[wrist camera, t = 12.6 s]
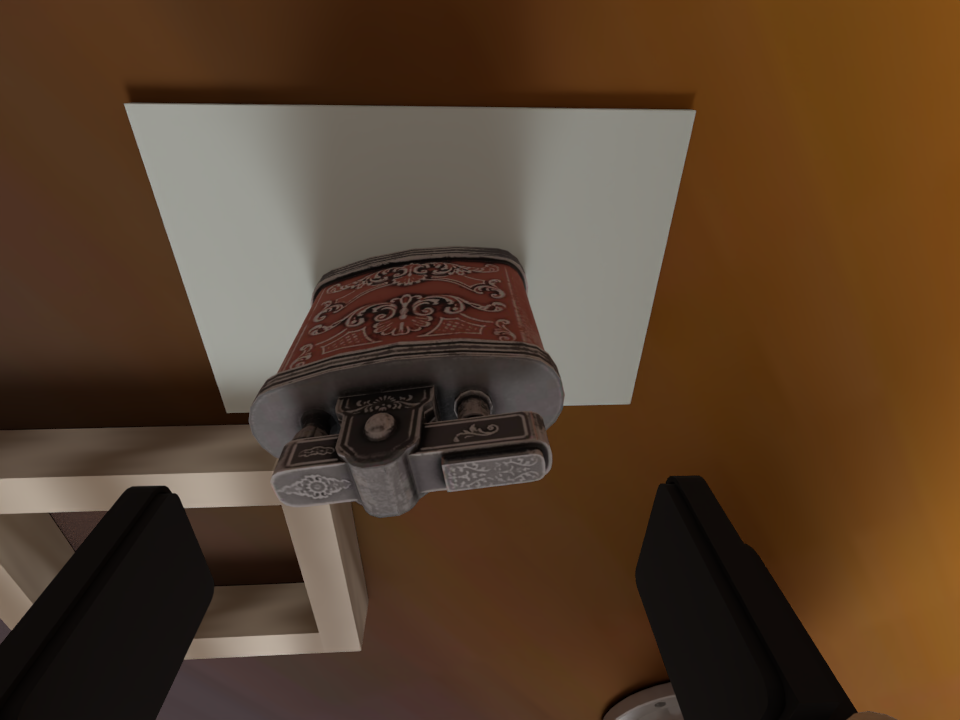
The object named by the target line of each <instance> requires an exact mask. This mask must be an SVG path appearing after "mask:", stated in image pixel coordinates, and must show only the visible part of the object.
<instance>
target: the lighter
mask: <svg viewBox="0 0 960 720" xmlns="http://www.w3.org/2000/svg"><path fill="white" fill-rule="evenodd" d="M527 295H528V283H527V279H526V275H525V272H524V269H523V266H522V265H521V263H520V262H519V260H518V259H517V257H516V256H514V255H513V254H512V253H510V252H509V251H507V250H503V249H499V248H484V247H466V246H448V247H431V248H415V249H408V250H403V251H398V252H393V253H388V254H383V255H378V256H373V257H369V258H366V259H363V260H360V261H357V262H354V263H351V264H348V265H345V266H342V267H339V268H336V269H333V270H331V271H329V272H327V273H326V274H324V275H323V276H322V278H321V279H320V281H319V282H318V284H317V286H316V287H315V289H314V291H313V293H312V298H311V303H310V304H311V309H310V310H309V312H308V314H307V316H306V318H305V320H304V322H303V324H302V326H301V328H300V330H299V332H298V334H297V336H296V337H295V339H294V341H293V343H292V345H291V347H290V349H289V351H288V353H287V355H286V357H285V359H284V361H283V363H282V364H281V366H280V368H279V370H278V372H277V374H275V375H273V376H272V377H270V378H268V379H267V380H266V382H265V383H264V384H263V386H262V387H261V389H260V390H259V392H258V394H257V396H256V398H255V400H254V401H253V403H252V405H251V407H250V413H249V420H248V421H249V424H250V427H251V431H252V434H253V436H254V437H255V438H256V440H257V441H258V443H259V444H260V445H261V447H262V448H264V449H265V450H266V451H267V452H269V453H270V454H271V455H273V456H274V457H276V458H278V459H279V460H278V463H277V465H276V468H275V470H274V472H273V475H272V478H271V481H270V483H271V486H272V489H273V491H274V493H275V495H276V497H277V498H278V499H279V501H280V502H282V503H283V504H285V505H287V506H291V507H310V506H318V505H326V504H334V503H343V502H351V501H355V502H357V503H358V504H360V505H363V507H364V509H365V511H366V512H367V513H368V514H369V515H371V516H375V517H378V518H382V517H391V516H399V515H401V514H403V513H405V512H407V511H409V510H411V509H412V508H413V507H414V506H415V505H416V503H417V502H418V500H419V499H420V498H421V497H423V496H425V495H426V494H427V493H428V492H432V491H440V490H447V492H452V491H460V490H468V489H477V488H485V487H493V486H501V485H509V484H517V483H526V482H533V481H537V480H540V479H542V478H543V477H544V475H545V474H547V473H548V472H549V470H550V469H551V465H552V453H551V449H550V445H549V441H548V437H547V433H546V430H547V429H548V428H549V427H550V426H551V425H552V424H553V423H555V422H556V420H557V418H558V416H559V414H560V413H561V411H562V409H563V403H564V397H565V393H564V389H563V384H562V380H561V377H560V374H559V371H558V368H557V366H556V364H555V362H554V361H553V359H552V358H551V356H550V355H549V353H547V352H546V351H545V350H544V347H543V344H542V341H541V338H540V335H539V331H538V328H537V325H536V322H535V319H534V316H533V313H532V310H531V306H530V303H529V300H528V297H527Z"/></svg>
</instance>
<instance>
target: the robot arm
mask: <svg viewBox="0 0 960 720" xmlns="http://www.w3.org/2000/svg"><path fill="white" fill-rule="evenodd" d="M635 576H636V584H637V588H638V591H639V594H640V597H641V599H642V602H643V605H644V608H645V611H646V614H647V616H648V619H649V622H650V625H651V628H652V631H653V633H654V636H655V639H656V642H657V645H658V648H659V650H660V653H661V656H662V659H663V662H664V665H665V667H666V670H667V673H668V676H669V679H670V682H669V683H665V684H660V685H656V686H653V687H650V688H647V689H644V690H641V691H639V692H637V693H635V694H632V695H630V696H628V697H627V698H625V699H623V700H621V701H620V702H618V703H617V704H616V705H615V706H613V707H612V708H611V709H610V710H609V711H608V713H607V714H606V715H605V716H604V719H603V720H897V719H894V718H892V717H890V716H888V715H885V714H880V713H875V712H870V711H867V712H860V713H858V712H857V710H856V709H855V707H854V706H853V704H852V703H851V701H850V699H849V698H848V696H847V695H846V693H845V691H844V690H843V688H842V687H841V685H840V684H839V682H838V680H837V679H836V677H835V676H834V674H833V672H832V671H831V669H830V668H829V666H828V665H827V663H826V661H825V660H824V658H823V657H822V655H821V653H820V652H819V650H818V649H817V647H816V646H815V644H814V642H813V641H812V639H811V638H810V636H809V634H808V633H807V631H806V630H805V628H804V626H803V625H802V623H801V622H800V620H799V619H798V617H797V615H796V614H795V612H794V611H793V609H792V607H791V606H790V604H789V603H788V601H787V600H786V598H785V596H784V595H783V593H782V592H781V590H780V588H779V587H778V585H777V584H776V582H775V581H774V579H773V577H772V576H771V574H770V573H769V571H768V569H767V568H766V566H765V565H764V563H763V562H762V560H761V558H760V557H759V555H758V554H757V553H756V552H755V550H754V549H753V548H752V547H750V546H749V545H747V544H744V543H743V542H742V540H741V538H740V537H739V535H738V533H737V532H736V530H735V529H734V527H733V525H732V524H731V522H730V520H729V519H728V517H727V516H726V514H725V512H724V511H723V509H722V507H721V506H720V504H719V503H718V501H717V499H716V498H715V496H714V494H713V493H712V491H711V490H710V488H709V486H708V485H707V483H706V481H705V480H704V479H703V478H702V477H701V476H670V477H669V478H668V479H667V481H666V484H660V485H659V487H658V489H657V493H656V497H655V500H654V504H653V508H652V511H651V515H650V519H649V522H648V526H647V530H646V534H645V537H644V541H643V545H642V548H641V552H640V556H639V559H638V563H637V567H636V574H635ZM213 594H214V580H213V577H212V575H211V573H210V570H209V568H208V565H207V563H206V560H205V558H204V556H203V553H202V551H201V548H200V546H199V544H198V541H197V539H196V536H195V534H194V531H193V529H192V527H191V524H190V522H189V519H188V517H187V515H186V512H185V510H184V507H183V505H182V502H181V500H180V498H179V496H178V495H177V494H176V493H172V492H171V491H170V489H169V488H168V487H167V486H132V487H130V488H127V489H126V490H125V491H124V492H123V493H122V495H121V496H120V497H119V498H118V500H117V501H116V502H115V503H114V504H113V506H112V507H111V508H110V509H109V511H108V512H107V513H106V514H105V516H104V517H103V518H102V519H101V521H100V522H99V523H98V524H97V526H96V527H95V528H94V529H93V531H92V532H91V533H90V534H89V535H88V537H87V538H86V539H85V540H84V542H83V543H82V544H81V545H80V547H79V548H78V549H77V550H76V552H75V553H74V554H73V555H72V557H71V558H70V559H69V560H68V561H67V563H66V564H65V565H64V566H63V568H62V569H61V570H60V571H59V573H58V574H57V575H56V576H55V578H54V579H53V580H52V581H51V583H50V584H49V585H48V586H47V587H46V589H45V590H44V591H43V592H42V594H41V595H40V596H39V597H38V599H37V600H36V601H35V602H34V604H33V605H32V606H31V607H30V609H29V610H28V611H27V612H26V614H25V615H24V616H23V617H22V618H21V620H20V621H19V622H18V623H17V625H16V626H15V627H14V628H13V630H12V631H11V632H10V633H9V635H8V636H7V637H6V638H5V640H4V641H3V642H2V643H1V644H0V720H156V717H157V715H158V713H159V711H160V709H161V707H162V705H163V703H164V700H165V698H166V696H167V694H168V692H169V690H170V688H171V686H172V683H173V681H174V679H175V677H176V675H177V673H178V671H179V669H180V666H181V664H182V662H183V660H184V658H185V656H186V654H187V652H188V649H189V647H190V645H191V643H192V641H193V639H194V637H195V635H196V632H197V630H198V628H199V626H200V624H201V622H202V620H203V618H204V615H205V613H206V611H207V609H208V607H209V605H210V603H211V600H212V598H213Z"/></svg>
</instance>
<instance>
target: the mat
mask: <svg viewBox="0 0 960 720" xmlns="http://www.w3.org/2000/svg"><path fill="white" fill-rule="evenodd" d="M124 105H125V108H126V112H127V115H128V118H129V121H130V124H131V127H132V130H133V133H134V136H135V139H136V142H137V145H138V148H139V151H140V154H141V157H142V160H143V163H144V166H145V169H146V172H147V175H148V178H149V181H150V184H151V187H152V190H153V193H154V196H155V199H156V202H157V205H158V208H159V211H160V214H161V217H162V220H163V223H164V226H165V229H166V232H167V235H168V238H169V241H170V244H171V247H172V250H173V253H174V256H175V259H176V262H177V265H178V268H179V271H180V274H181V277H182V280H183V283H184V286H185V289H186V292H187V295H188V298H189V301H190V304H191V307H192V310H193V313H194V316H195V319H196V322H197V325H198V328H199V331H200V334H201V337H202V340H203V343H204V346H205V349H206V352H207V355H208V358H209V361H210V364H211V367H212V370H213V373H214V376H215V379H216V382H217V385H218V388H219V391H220V394H221V397H222V400H223V403H224V406H225V409H226V412H227V413H250V407H251V405H252V403H253V401H254V400H255V398H256V396H257V394H258V392H259V390H260V389H261V387H262V386H263V384H264V383H265V382H266V380H267V379H268V378H270V377H272V376H273V375H275V374H277V372H278V370H279V368H280V366H281V364H282V363H283V361H284V359H285V357H286V355H287V353H288V351H289V349H290V347H291V345H292V343H293V341H294V339H295V337H296V336H297V334H298V332H299V330H300V328H301V326H302V324H303V322H304V320H305V318H306V316H307V314H308V312H309V310H310V309H311V304H310V303H311V298H312V293H313V291H314V289H315V287H316V286H317V284H318V282H319V281H320V279H321V278H322V276H323V275H324V274H326V273H327V272H329V271H331V270H333V269H336V268H339V267H342V266H345V265H348V264H351V263H354V262H357V261H360V260H363V259H366V258H369V257H373V256H378V255H383V254H388V253H393V252H398V251H403V250H408V249H415V248H431V247H448V246H466V247H484V248H499V249H503V250H507V251H509V252H510V253H512V254H513V255H514V256H516V257H517V259H518V260H519V262H520V263H521V265H522V266H523V269H524V272H525V275H526V279H527V283H528V295H527V297H528V300H529V303H530V306H531V310H532V313H533V316H534V319H535V322H536V325H537V328H538V331H539V335H540V338H541V341H542V344H543V347H544V350H545V351H546V352H547V353H549V355H550V356H551V358H552V359H553V361H554V362H555V364H556V366H557V368H558V371H559V374H560V377H561V380H562V384H563V389H564V393H565V397H564V403H563V406H570V405H615V404H630V403H631V398H632V394H633V389H634V385H635V380H636V376H637V372H638V367H639V363H640V358H641V354H642V349H643V345H644V340H645V336H646V332H647V327H648V323H649V318H650V314H651V309H652V305H653V300H654V296H655V292H656V287H657V283H658V278H659V274H660V269H661V265H662V260H663V256H664V252H665V247H666V243H667V238H668V234H669V229H670V225H671V220H672V216H673V212H674V207H675V203H676V198H677V194H678V189H679V185H680V180H681V176H682V172H683V167H684V163H685V158H686V154H687V149H688V145H689V140H690V136H691V132H692V127H693V123H694V118H695V114H696V111H695V110H688V109H606V108H525V107H443V106H362V105H280V104H199V103H125V104H124Z"/></svg>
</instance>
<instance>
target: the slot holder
mask: <svg viewBox="0 0 960 720" xmlns="http://www.w3.org/2000/svg"><path fill="white" fill-rule="evenodd" d="M278 460H279V459H278V458H276V457H274V456H273V455H271V454H270V453H269V452H267V451H266V450H265V449H264V448H262V447H261V445H260V444H259V443H258V441H257V440H256V438H255V437H254V436H253V434H252V431H251V427H250V425H210V426H167V427H124V428H81V429H38V430H0V618H1V619H2V620H3V622H4V623H5V624H6V625H7V626H8V627H9V628H10V629H11V630H13V628H14V627H15V626H16V625H17V623H18V622H19V621H20V620H21V618H22V617H23V616H24V615H25V614H26V612H27V611H28V610H29V609H30V607H31V606H32V605H33V604H34V602H35V601H36V600H37V599H38V597H39V596H40V595H41V594H42V592H43V591H44V590H45V589H46V587H47V586H48V585H49V584H50V583H51V581H52V580H53V579H54V578H55V576H56V575H57V574H58V573H59V571H60V570H61V569H62V568H63V566H64V565H65V564H66V563H67V561H68V560H69V559H70V558H71V557H72V555H73V554H74V553H75V551H74V550H73V549H72V547H71V546H70V544H69V543H68V541H67V540H66V538H65V537H64V535H63V534H62V532H61V531H60V529H59V528H58V526H57V525H56V523H55V522H54V520H53V519H52V517H51V516H50V514H49V513H48V512H77V511H108V510H109V509H110V508H111V507H112V506H113V504H114V503H115V502H116V501H117V500H118V498H119V497H120V496H121V495H122V493H123V492H124V491H125V490H126V489H127V488H130V487H132V486H167V487H168V488H169V489H170V491H171V492H172V493H176V494H177V495H178V496H179V498H180V500H181V502H182V505H183V507H184V508H201V507H232V506H263V505H282V508H283V511H284V515H285V518H286V522H287V525H288V528H289V532H290V535H291V539H292V542H293V545H294V549H295V552H296V556H297V559H298V563H299V566H300V569H301V573H302V576H303V580H304V583H289V584H264V585H240V586H216V587H214V594H213V598H212V600H211V603H210V605H209V607H208V609H207V611H206V613H205V615H204V618H203V620H202V622H201V624H200V626H199V628H198V630H197V632H196V635H195V637H194V639H193V641H192V643H191V645H190V647H189V649H188V652H187V654H186V656H185V658H184V659H205V658H225V657H245V656H266V655H286V654H306V653H327V652H347V651H361V648H362V641H363V635H364V628H365V621H366V614H367V607H368V594H367V589H366V583H365V578H364V572H363V567H362V562H361V556H360V551H359V545H358V540H357V534H356V529H355V523H354V518H353V512H352V507H351V502H343V503H334V504H326V505H318V506H310V507H291V506H287V505H285V504H283V503H282V502H280V501H279V499H278V498H277V497H276V495H275V493H274V491H273V489H272V486H271V483H270V481H271V478H272V475H273V472H274V470H275V468H276V465H277V463H278Z"/></svg>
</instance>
